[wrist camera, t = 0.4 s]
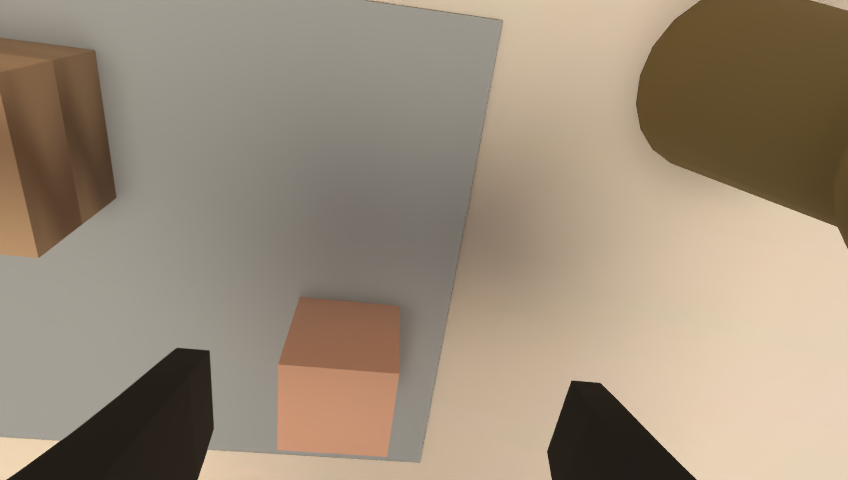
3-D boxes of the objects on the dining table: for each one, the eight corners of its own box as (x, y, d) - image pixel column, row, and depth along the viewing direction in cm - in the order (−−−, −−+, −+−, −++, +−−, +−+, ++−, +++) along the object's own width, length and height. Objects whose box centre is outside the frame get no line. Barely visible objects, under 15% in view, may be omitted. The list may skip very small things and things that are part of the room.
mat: (419, 459, 25) (419, 462, 25) (-18, 432, 23) (-21, 435, 23) (501, 20, 16) (502, 21, 16) (-197, -82, 14) (-205, -83, 14)
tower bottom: (116, 198, 18) (82, 224, 16) (-35, 182, 18) (-89, 207, 16) (95, 49, 16) (52, 60, 14) (-79, 27, 16) (-148, 34, 14)
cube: (389, 381, 23) (387, 456, 19) (297, 374, 22) (277, 449, 19) (399, 305, 21) (399, 373, 17) (299, 296, 20) (277, 364, 17)
